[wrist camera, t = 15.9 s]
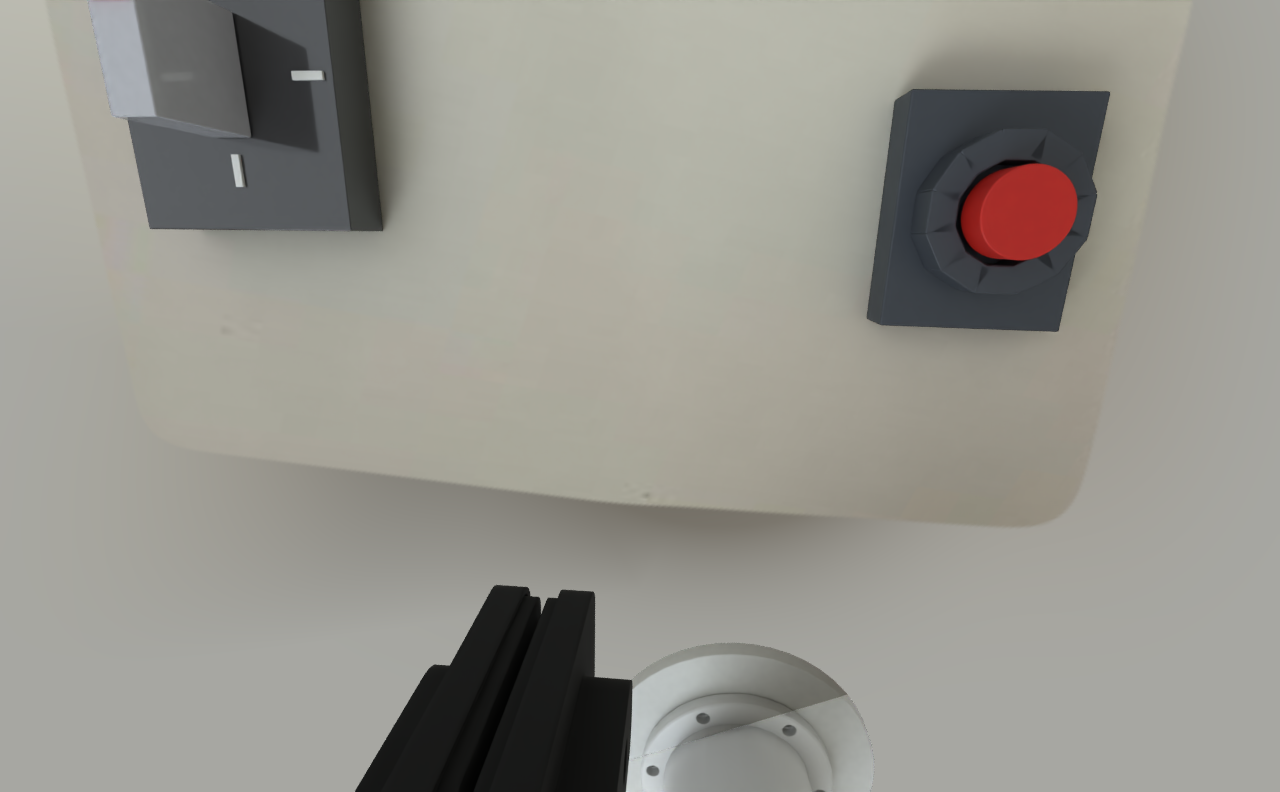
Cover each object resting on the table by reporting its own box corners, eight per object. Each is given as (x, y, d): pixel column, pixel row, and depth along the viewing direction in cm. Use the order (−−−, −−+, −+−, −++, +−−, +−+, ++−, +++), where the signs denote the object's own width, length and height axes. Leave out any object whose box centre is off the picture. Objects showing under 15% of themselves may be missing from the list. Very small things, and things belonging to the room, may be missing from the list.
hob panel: (383, 231, 30) (349, 230, 27) (199, 229, 31) (146, 229, 28) (352, -66, 27) (310, -105, 24) (146, -61, 28) (79, -97, 24)
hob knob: (252, 137, 27) (150, 115, 22) (214, 137, 27) (104, 115, 22) (232, 11, 25) (119, -44, 20) (193, 12, 25) (70, -43, 20)
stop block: (1032, 324, 29) (1084, 338, 25) (866, 318, 30) (893, 331, 26) (1077, 102, 26) (1144, 79, 22) (894, 100, 27) (929, 77, 23)
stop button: (1041, 260, 25) (1067, 261, 23) (953, 257, 25) (972, 259, 23) (1060, 169, 24) (1088, 164, 22) (968, 167, 24) (989, 162, 22)
